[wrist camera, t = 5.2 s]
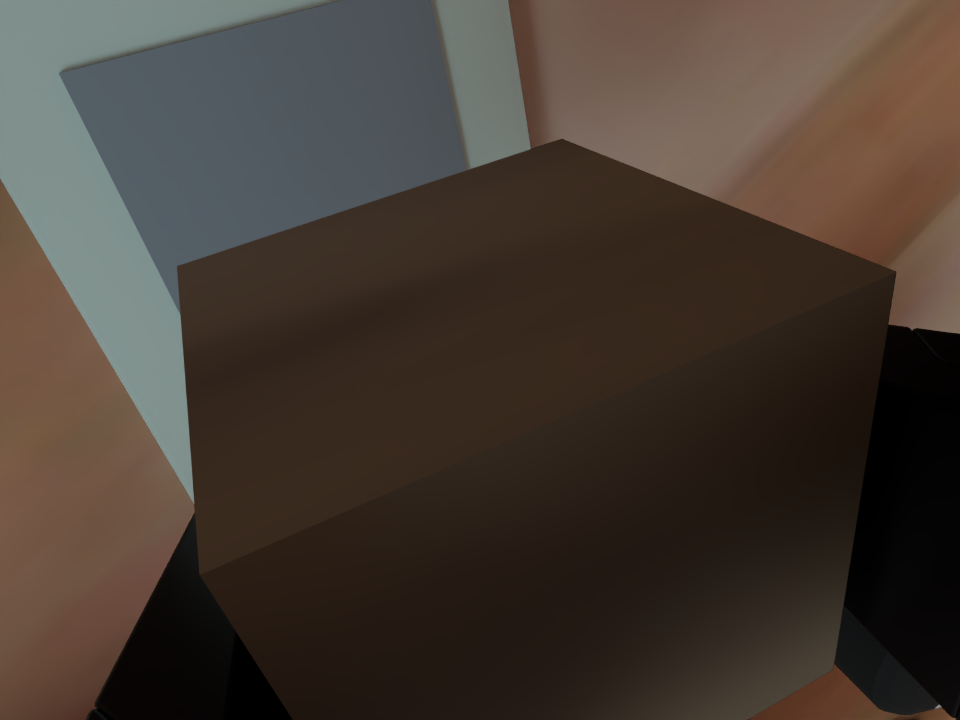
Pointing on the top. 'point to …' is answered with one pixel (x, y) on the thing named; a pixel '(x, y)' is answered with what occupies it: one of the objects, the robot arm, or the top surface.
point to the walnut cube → (532, 447)
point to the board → (229, 141)
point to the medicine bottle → (878, 671)
